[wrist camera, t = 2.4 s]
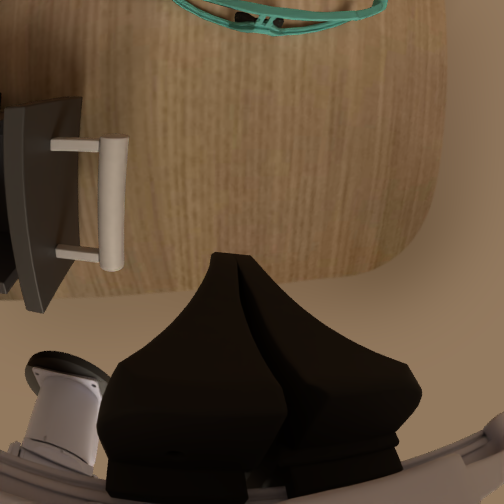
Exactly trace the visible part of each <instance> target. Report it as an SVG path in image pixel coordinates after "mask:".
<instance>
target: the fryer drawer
mask: <svg viewBox="0 0 504 504" xmlns="http://www.w3.org/2000/svg"><path fill="white" fill-rule="evenodd" d="M81 106H82V97H61V98H54V99H47V100H41V101H35V102H29V103H24V104H19V105H14V106H9V107H6V108H5V109H4V112H0V293H3V294H7V293H8V292H9V290H10V289H11V287H12V286H13V285H14V283H15V282H16V281H17V279H18V278H19V282H20V287H21V291H22V295H23V299H24V302H25V306H26V309H27V310H28V311H33V312H38V313H44V312H45V310H46V308H47V307H48V305H49V303H50V301H51V299H52V298H53V296H54V294H55V292H56V291H57V289H58V287H59V285H60V284H61V282H62V280H63V279H64V277H65V275H66V274H67V272H68V270H69V269H70V267H71V266H72V264H73V262H74V261H75V260H81V261H89V262H99V260H100V267H101V268H102V269H103V270H106V271H118V270H120V269H122V268H123V266H124V209H125V185H126V168H127V155H128V143H129V136H128V135H125V134H104V135H101V137H100V138H79V130H80V117H81ZM78 151H82V152H99V169H98V239H99V248H90V247H81V246H80V239H79V221H78Z"/></svg>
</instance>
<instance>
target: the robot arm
mask: <svg viewBox="0 0 504 504" xmlns="http://www.w3.org/2000/svg"><path fill="white" fill-rule="evenodd" d="M32 370H33V373H34V375H35V377H36V379H37V382H38V384H39V386H40V391H39V394H38V397H37V400H36V403H35V406H34V409H33V412H32V415H31V418H30V421H29V425H28V428H27V432H26V435H25V437H24V440H23V443H22V446H20V444H21V443H19V442H18V441H15V443H11V444H10V446H9V449H8V452H4V451H2V450H0V504H480V502H481V500H482V499H484V498H485V497H487V496H488V495H489V494H491V493H492V492H493V491H495V490H496V489H498V488H499V487H500V486H501V485H503V484H504V412H502V413H500V414H499V415H497V416H496V417H494V418H493V419H492V420H491V421H490V422H489V423H488V424H487V425H486V426H485V427H484V429H483V430H481V431H479V432H477V433H474V434H472V435H470V436H468V437H466V438H464V439H461V440H459V441H457V442H454V443H452V444H449V445H447V446H444V447H442V448H439V449H437V450H434V451H431V452H428V453H426V454H423V455H420V456H417V457H414V458H411V459H408V460H405V461H402V462H401V461H400V459H399V457H398V454H397V452H396V450H395V446H397V445H398V444H399V439H398V437H397V435H396V433H395V432H396V431H397V430H398V429H399V428H400V427H401V426H402V424H403V423H404V422H405V421H406V420H407V419H408V418H409V417H410V416H411V415H412V413H413V412H414V411H415V409H416V408H417V407H418V405H419V402H420V400H421V397H422V389H421V387H420V386H419V384H418V382H417V380H416V379H415V377H414V375H413V373H412V372H411V370H410V368H409V367H408V365H407V364H405V363H402V362H399V361H397V360H394V359H392V358H389V357H386V356H383V355H381V354H378V353H375V352H374V351H371V350H369V349H367V348H365V347H363V346H361V345H359V344H357V343H355V342H353V341H351V340H349V339H348V338H346V337H344V336H342V335H341V334H339V333H337V332H336V331H334V330H332V329H331V328H329V327H328V326H326V325H324V324H323V323H321V322H320V321H319V320H318V319H316V318H315V317H313V316H312V315H311V314H310V313H308V312H307V311H306V310H304V309H303V308H302V307H301V306H299V305H298V304H297V303H296V302H295V301H294V300H293V299H292V298H290V297H289V296H288V295H287V294H286V293H285V292H284V291H283V290H282V289H281V288H280V287H279V286H278V285H277V284H276V283H275V282H274V281H273V280H272V279H271V277H270V276H269V275H268V274H267V273H266V272H265V271H264V270H263V269H262V268H261V266H260V265H259V264H258V263H257V262H256V261H255V260H254V259H253V258H252V256H250V255H240V254H230V253H221V252H214V253H213V254H211V259H210V266H209V269H208V271H207V273H206V276H205V278H204V280H203V282H202V283H201V285H200V287H199V288H198V290H197V292H196V293H195V295H194V296H193V298H192V299H191V301H190V302H189V303H188V305H187V306H186V307H185V308H184V310H183V311H182V312H181V313H180V314H179V316H178V317H177V318H176V319H175V320H174V321H173V322H172V323H171V324H170V325H169V326H168V327H167V328H166V329H165V330H164V331H163V332H161V333H160V334H159V335H158V336H157V337H156V338H154V339H153V340H152V341H151V342H150V343H148V344H147V345H146V346H145V347H143V348H142V349H140V350H139V351H137V352H136V353H134V354H132V355H131V356H129V357H128V358H126V359H125V360H123V361H122V362H120V363H119V364H118V365H117V367H116V369H115V371H114V372H113V374H112V376H111V378H110V380H109V382H108V384H107V387H106V389H105V392H104V394H103V397H102V395H101V391H100V387H99V384H98V381H97V379H95V378H92V377H86V376H81V375H76V374H70V373H66V372H61V371H56V370H51V369H47V368H43V367H39V366H33V368H32ZM99 439H100V441H101V444H102V446H103V448H104V450H105V453H106V455H107V457H108V467H107V477H106V480H103V479H99V478H98V477H97V476H96V475H93V465H94V463H95V460H96V454H97V448H98V441H99Z"/></svg>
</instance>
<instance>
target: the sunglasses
mask: <svg viewBox="0 0 504 504" xmlns="http://www.w3.org/2000/svg"><path fill="white" fill-rule="evenodd" d="M172 1H174V2H175V3H176V4H178V5H179V6H180V7H182V8H184V9H185V10H187V11H189V12H191V13H193V14H195V15H197V16H199V17H201V18H202V19H205V20H207V21H210V22H213V23H216V24H219V25H221V26H224V27H227V28H230V29H233V30H237V31H240V32H246V33H250V32H254V33H261V34H268V35H271V36H283V35H299V34H305V33H311V32H317V31H321V30H325V29H329V28H333V27H336V26H339V25H341V24H344V23H346V22H349V21H351V20H355V21H357V20H361V19H364V18H367V17H370V16H373V15H376V14H378V13H380V12H382V11H383V10H385V9H386V6H387V2H388V0H374V1H373V5H372V7H370V8H368V9H364V10H358V11H339V12H312V11H305V10H298V9H289V8H280V7H271V6H267V5H262V4H257V3H252V2H246V1H241V0H203V1H207V2H211V3H214V4H218V5H221V6H225V7H228V8H232V9H236V10H239V11H243V12H236V13H235V22H231V21H229V20H226V19H223V18H220V17H217V16H214V15H212V14H210V13H207V12H205V11H203V10H201V9H199V8H196V7H195V6H193V5H192V4H190V3H189V2H187V1H185V0H172ZM245 12H247V13H245ZM248 13H252V14H257V15H259V17H258V18H255V17H253V16H251V15H250V14H248ZM266 16H269V17H270V18H269V19H265V18H266ZM284 19H291V20H302V21H328V22H324V23H319V24H314V25H309V26H305V27H295V28H281V27H282V25H283V22H284ZM280 28H281V29H280Z"/></svg>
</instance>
